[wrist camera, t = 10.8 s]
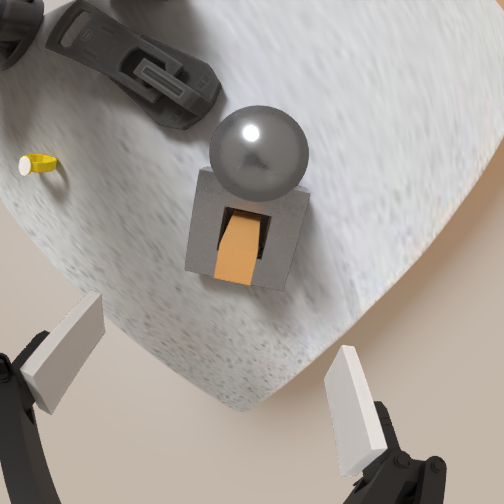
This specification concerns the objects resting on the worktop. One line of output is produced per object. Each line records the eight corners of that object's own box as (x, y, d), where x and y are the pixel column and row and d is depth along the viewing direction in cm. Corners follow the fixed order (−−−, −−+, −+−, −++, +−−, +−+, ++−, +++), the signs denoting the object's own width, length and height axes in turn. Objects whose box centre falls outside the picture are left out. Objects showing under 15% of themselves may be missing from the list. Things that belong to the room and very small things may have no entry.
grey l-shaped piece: (216, 118, 31) (152, 90, 12) (317, 140, 31) (384, 140, 12) (192, 257, 37) (133, 361, 19) (281, 276, 38) (292, 395, 19)
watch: (64, 154, 33) (40, 160, 27) (61, 172, 34) (37, 180, 28) (37, 148, 32) (13, 152, 26) (35, 165, 33) (11, 171, 27)
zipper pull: (78, -7, 18) (225, 70, 23) (101, 7, 24) (233, 83, 29) (38, 49, 21) (168, 140, 26) (66, 56, 27) (186, 140, 32)
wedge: (234, 210, 35) (219, 244, 24) (260, 215, 35) (257, 252, 24) (229, 234, 36) (213, 277, 25) (254, 239, 36) (249, 285, 25)
